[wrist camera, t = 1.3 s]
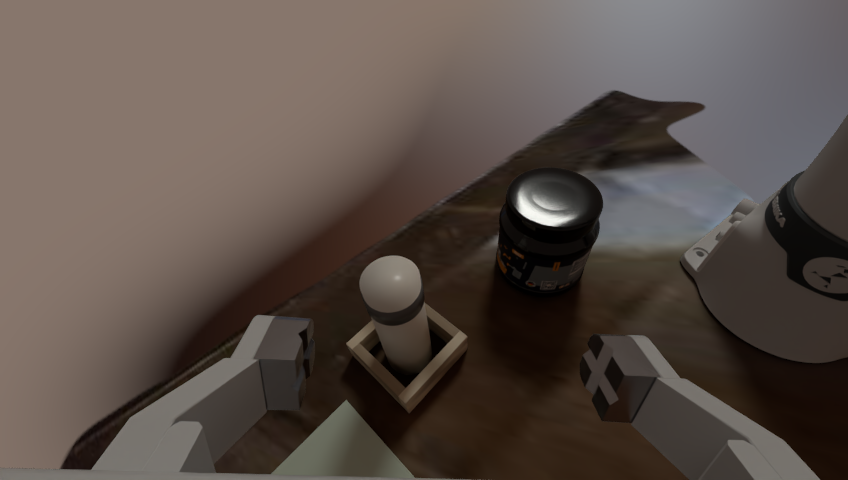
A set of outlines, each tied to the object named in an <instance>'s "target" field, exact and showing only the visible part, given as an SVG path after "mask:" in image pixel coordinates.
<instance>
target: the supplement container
mask: <svg viewBox="0 0 848 480" xmlns="http://www.w3.org/2000/svg"><path fill="white" fill-rule="evenodd" d="M602 208H603V199H602V195H601V193H600V191H599V190H598V188H597V187H596V186H595V185H594V184H593V183H592V182H591V181H590V180H588V179H587V178H586V177H584V176H582V175H580V174H578V173H576V172H573V171H570V170H566V169H561V168H550V167H548V168H538V169H533V170H530V171H527V172H524V173H522V174H521V175H519V176H518V177H516V178H515V179H514V180H513V181H512V182H511V184H510V185H509V187H508V190H507V194H506V202H505V203H504V205H503V207H502V209H501V212H500V216H499V224H500V229H499V240H498V249H497V254H496V261H497V266H498V269H499V272H500V274H501V275H502V277H503V278H504V279H505V281H506V282H507V283H508V284H509V285H511V286H512V287H513V288H515V289H516V290H518V291H520V292H522V293H525V294H528V295H531V296H536V297H552V296H557V295H560V294H563V293H565V292H567V291H569V290H570V289H572V288H573V287H574V286H575V285H576V284H577V283H578V281H579V280H580V278H581V276H582V274H583V270H584V266H585V264H586V261H587V259H588V256H589V254H590V251H591V249H592V246H593V244H594V243H595V241H596V239H597V237H598V234H599V229H600V223H599V217H600V214H601V212H602Z"/></svg>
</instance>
